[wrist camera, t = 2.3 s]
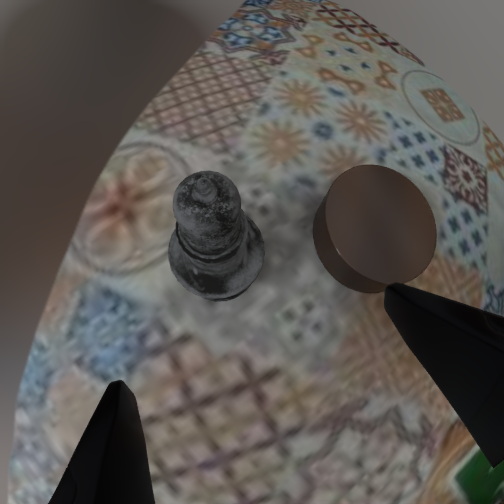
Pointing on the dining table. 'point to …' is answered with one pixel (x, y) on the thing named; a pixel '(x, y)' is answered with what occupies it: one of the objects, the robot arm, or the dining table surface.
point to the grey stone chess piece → (213, 238)
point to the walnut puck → (374, 229)
